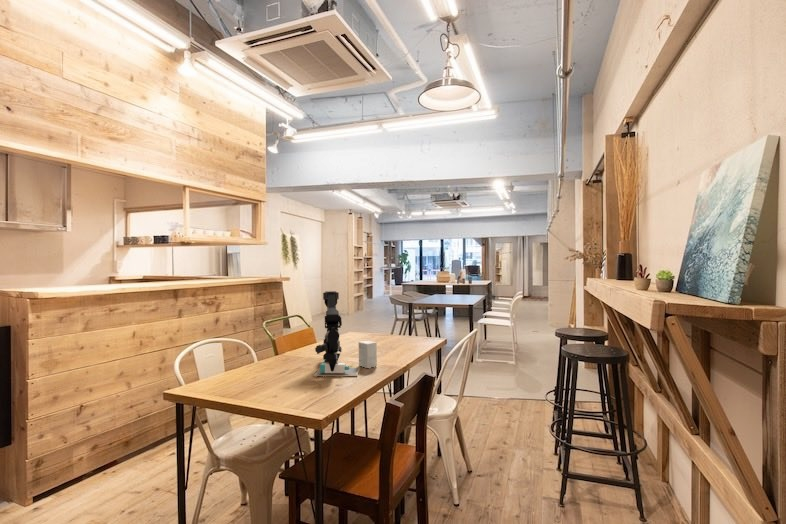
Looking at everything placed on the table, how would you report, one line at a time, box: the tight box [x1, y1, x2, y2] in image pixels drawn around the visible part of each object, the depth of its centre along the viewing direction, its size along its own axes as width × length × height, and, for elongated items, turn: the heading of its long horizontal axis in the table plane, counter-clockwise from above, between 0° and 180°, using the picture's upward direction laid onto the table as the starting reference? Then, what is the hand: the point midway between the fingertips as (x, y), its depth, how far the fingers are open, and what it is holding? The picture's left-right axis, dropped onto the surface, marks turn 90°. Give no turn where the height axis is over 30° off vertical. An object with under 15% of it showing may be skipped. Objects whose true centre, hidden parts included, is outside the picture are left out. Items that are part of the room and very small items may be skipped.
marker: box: [319, 362, 350, 373], centre depth 211 cm, size 4×14×4 cm, turn 88°
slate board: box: [313, 366, 361, 378], centre depth 214 cm, size 15×21×1 cm
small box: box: [358, 340, 378, 369], centre depth 225 cm, size 8×6×13 cm
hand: (332, 369), depth 211 cm, fingers closed on marker, 4 cm apart
